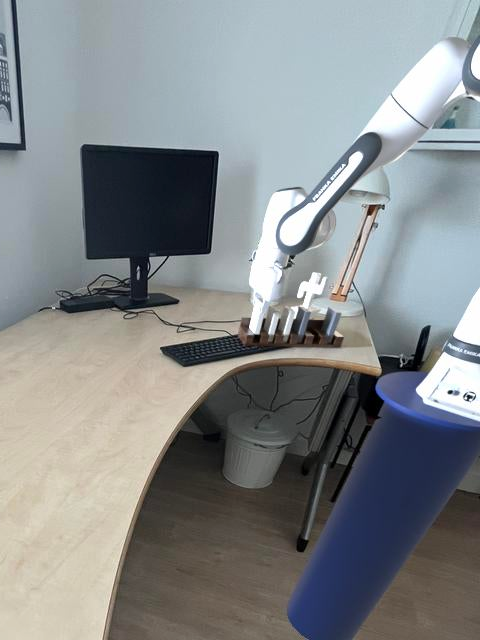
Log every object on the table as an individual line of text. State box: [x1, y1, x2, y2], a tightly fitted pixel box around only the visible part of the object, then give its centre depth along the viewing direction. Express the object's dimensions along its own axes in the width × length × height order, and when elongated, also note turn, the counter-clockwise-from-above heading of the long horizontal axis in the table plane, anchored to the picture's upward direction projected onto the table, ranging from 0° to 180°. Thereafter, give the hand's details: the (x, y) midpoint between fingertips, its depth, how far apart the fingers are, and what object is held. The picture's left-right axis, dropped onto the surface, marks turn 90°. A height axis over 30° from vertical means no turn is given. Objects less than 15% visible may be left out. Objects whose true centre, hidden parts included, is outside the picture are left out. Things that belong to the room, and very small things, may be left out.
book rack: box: [237, 317, 345, 349], centre depth 136 cm, size 9×30×6 cm, turn 90°
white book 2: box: [263, 305, 281, 342], centre depth 134 cm, size 6×2×9 cm, turn 0°
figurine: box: [290, 271, 330, 319], centre depth 153 cm, size 7×9×15 cm
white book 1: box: [249, 297, 265, 335], centre depth 133 cm, size 6×2×9 cm, turn 0°
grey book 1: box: [292, 305, 311, 343], centre depth 134 cm, size 6×2×9 cm, turn 0°
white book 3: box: [278, 305, 296, 342], centre depth 134 cm, size 6×2×9 cm, turn 0°
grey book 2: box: [321, 306, 342, 343], centre depth 135 cm, size 6×2×9 cm, turn 0°
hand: (259, 309), depth 132 cm, fingers closed on white book 1, 6 cm apart
